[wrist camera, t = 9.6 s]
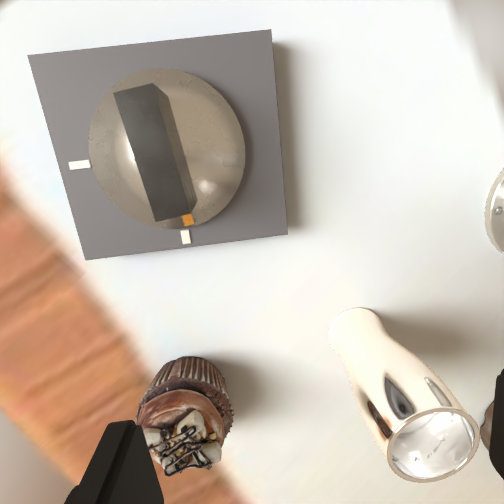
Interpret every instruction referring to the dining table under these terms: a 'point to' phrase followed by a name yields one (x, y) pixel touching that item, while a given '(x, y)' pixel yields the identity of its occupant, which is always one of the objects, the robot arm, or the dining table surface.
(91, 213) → the control panel
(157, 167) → the dial
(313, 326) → the dining table surface
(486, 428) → the plant pot
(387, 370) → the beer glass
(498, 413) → the robot arm
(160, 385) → the cupcake
